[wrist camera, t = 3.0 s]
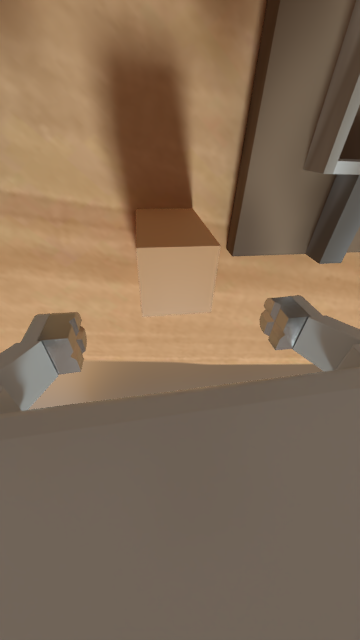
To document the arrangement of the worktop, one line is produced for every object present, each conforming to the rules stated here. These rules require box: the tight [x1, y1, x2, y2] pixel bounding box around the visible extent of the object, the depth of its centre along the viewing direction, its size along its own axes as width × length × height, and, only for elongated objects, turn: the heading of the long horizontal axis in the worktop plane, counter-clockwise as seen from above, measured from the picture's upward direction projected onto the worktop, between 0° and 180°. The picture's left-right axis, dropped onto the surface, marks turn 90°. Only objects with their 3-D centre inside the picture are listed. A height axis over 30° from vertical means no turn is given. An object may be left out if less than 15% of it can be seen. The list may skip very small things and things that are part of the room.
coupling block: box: [136, 209, 221, 317], centre depth 14 cm, size 4×4×7 cm
